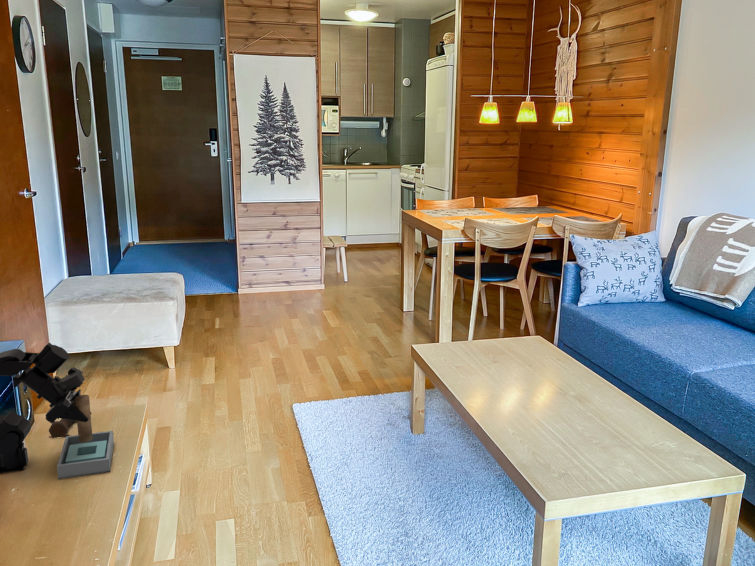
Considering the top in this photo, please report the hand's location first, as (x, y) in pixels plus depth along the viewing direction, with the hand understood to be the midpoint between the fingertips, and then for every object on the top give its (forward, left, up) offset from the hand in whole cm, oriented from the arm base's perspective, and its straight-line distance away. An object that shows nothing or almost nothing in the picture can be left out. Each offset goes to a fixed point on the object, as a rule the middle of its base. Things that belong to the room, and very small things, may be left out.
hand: (89, 417), depth 176 cm
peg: (-1, 0, -7) cm, 7 cm away
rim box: (-1, 0, -13) cm, 13 cm away
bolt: (-10, +25, -14) cm, 30 cm away
